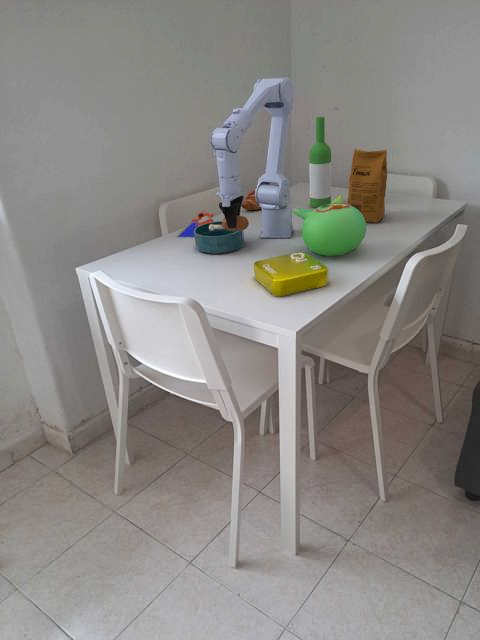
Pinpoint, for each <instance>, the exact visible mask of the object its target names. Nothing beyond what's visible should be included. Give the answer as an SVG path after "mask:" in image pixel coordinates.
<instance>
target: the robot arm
mask: <svg viewBox="0 0 480 640" xmlns="http://www.w3.org/2000/svg"><path fill="white" fill-rule="evenodd" d="M295 91H296V90H295V87H294V83H293V82H292V80H291V78H289V77H287V76H285V77H282V78H281V77H276V78H262V77H261V78H259V79H257V81H256V82H255V83H254V84H253V92H252V93H251V94H250V97H249V98H248V99H247V101H246V102H245V103H244V105H243V107H237V108H233V110H232V112H231V113H232V114H231V115H229V117H228V118H227V119H226V120H225V121H224V122H223V124H222V125H221V127H216V128H215V129H214V130H213V131H211V135H210V140H209V145H210V148H211V149H212V151H213V154H214V157H215V159H216V166H217V176H218V184H219V191H217V192H216V193H215V195H216V197H220V199H221V202H219V203H218V207H219V209H220V211H221V212H222V214H223V216H224V218H225V219H226V222H227V225H228V228H236V225H237V216H241V209H242V204H243V202H244V199H245V196H244V195H243V191H242V187H241V175H240V163H239V153H238V151H239V150H240V149H241V147H242V142H243V139H244V136H245V134H246V133H247V132H248V131H249V130H250V128H251V127H252V125H253V122H254V120H253V118H254V117H255V116H256V115H257V114H258V113H259V111H260V110H261V109H262V108H263V109H264V110H265V111H266V112H268V114H270V116H271V121H270V130H269V141H268V149H267V156H266V164H265V165H266V166H265V173H263V174H262V175H261V176H259V178H258V179H257V180H258V181H257V185H256V188H255V189H256V190H255V189H254V190H255V199H256V201H257V203H259V206H260V207H262V209H261V220H262V221H261V222H262V232H261V234H260V238H261V239H282V238H283V239H286V238H289V239H290V238H291V236H292V233H293V231H294V229H293V227H294V224H293V209H292V206H291V205H288V204H289V202H290V199H291V191H290V184H291V183H290V181H289V179H287V177H286V176H285V175H284V169H285V160H286V153H287V145H288V135H289V128H290V120H291V119H290V118H291V112H292V111H293V106H294V98H295Z"/></svg>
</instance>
